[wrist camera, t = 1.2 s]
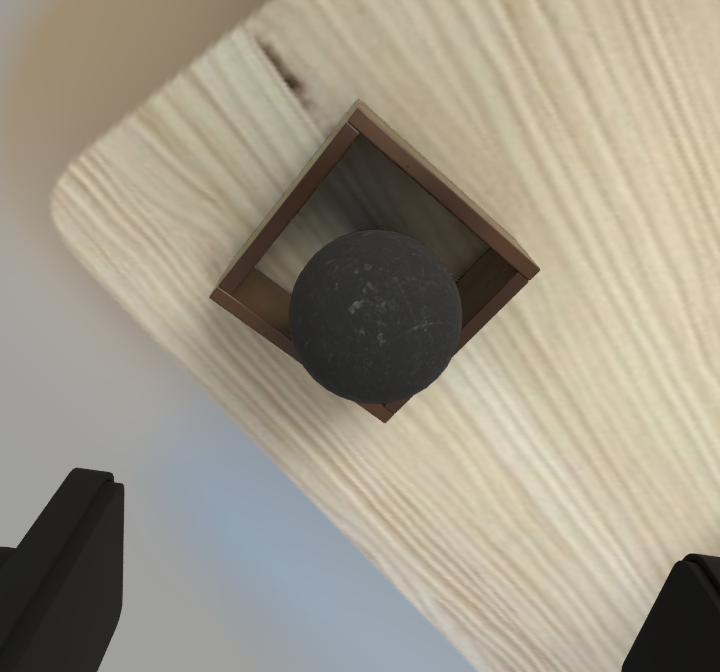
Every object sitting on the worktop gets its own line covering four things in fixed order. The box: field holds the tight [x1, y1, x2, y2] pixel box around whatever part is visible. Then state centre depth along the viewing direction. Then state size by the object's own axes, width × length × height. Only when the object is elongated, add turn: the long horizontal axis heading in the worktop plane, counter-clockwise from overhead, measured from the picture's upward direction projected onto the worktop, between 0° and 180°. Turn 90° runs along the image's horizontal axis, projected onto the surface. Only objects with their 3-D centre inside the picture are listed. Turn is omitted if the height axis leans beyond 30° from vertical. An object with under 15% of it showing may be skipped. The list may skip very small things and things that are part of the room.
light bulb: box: [288, 230, 462, 404], centre depth 22 cm, size 6×6×10 cm
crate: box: [209, 99, 540, 423], centre depth 24 cm, size 9×9×4 cm
